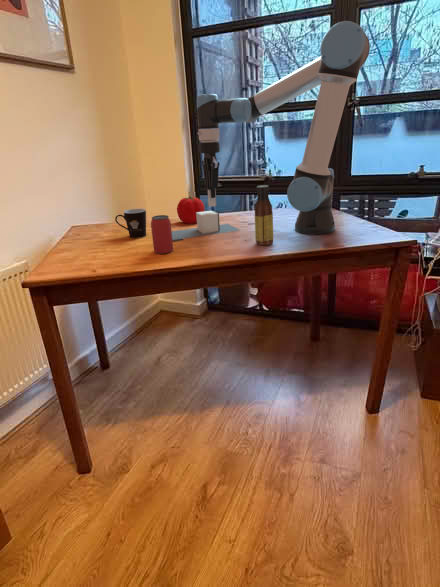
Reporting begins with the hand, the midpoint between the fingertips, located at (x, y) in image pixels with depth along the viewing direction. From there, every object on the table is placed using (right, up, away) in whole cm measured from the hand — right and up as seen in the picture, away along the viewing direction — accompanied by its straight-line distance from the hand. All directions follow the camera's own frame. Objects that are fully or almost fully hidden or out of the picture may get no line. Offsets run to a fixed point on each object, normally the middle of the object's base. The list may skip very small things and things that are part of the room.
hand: (212, 205), depth 150 cm
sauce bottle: (+19, -17, -15) cm, 29 cm away
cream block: (+1, -5, +3) cm, 6 cm away
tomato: (-9, -3, +19) cm, 22 cm away
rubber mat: (-4, -10, +2) cm, 11 cm away
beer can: (-16, -20, -19) cm, 32 cm away
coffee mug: (-31, -11, +3) cm, 33 cm away
